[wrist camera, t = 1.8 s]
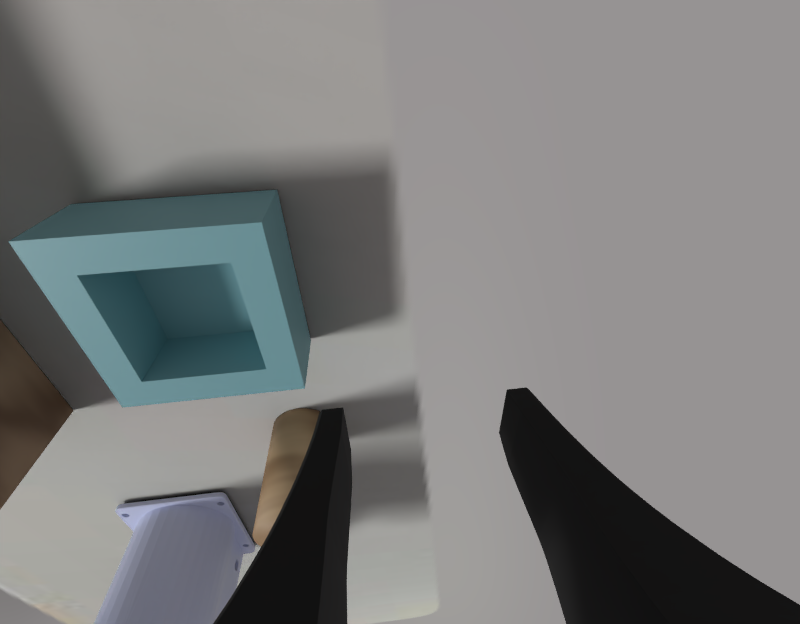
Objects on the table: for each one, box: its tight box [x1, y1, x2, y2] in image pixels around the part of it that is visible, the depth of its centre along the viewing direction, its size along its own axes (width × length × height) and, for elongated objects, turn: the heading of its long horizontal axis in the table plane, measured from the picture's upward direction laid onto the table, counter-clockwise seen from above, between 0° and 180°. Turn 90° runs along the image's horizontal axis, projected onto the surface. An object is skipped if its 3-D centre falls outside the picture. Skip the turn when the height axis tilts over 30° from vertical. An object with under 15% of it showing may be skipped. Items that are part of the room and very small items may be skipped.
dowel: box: [252, 408, 320, 546], centre depth 23 cm, size 4×4×7 cm
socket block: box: [8, 190, 311, 407], centre depth 18 cm, size 9×9×4 cm
